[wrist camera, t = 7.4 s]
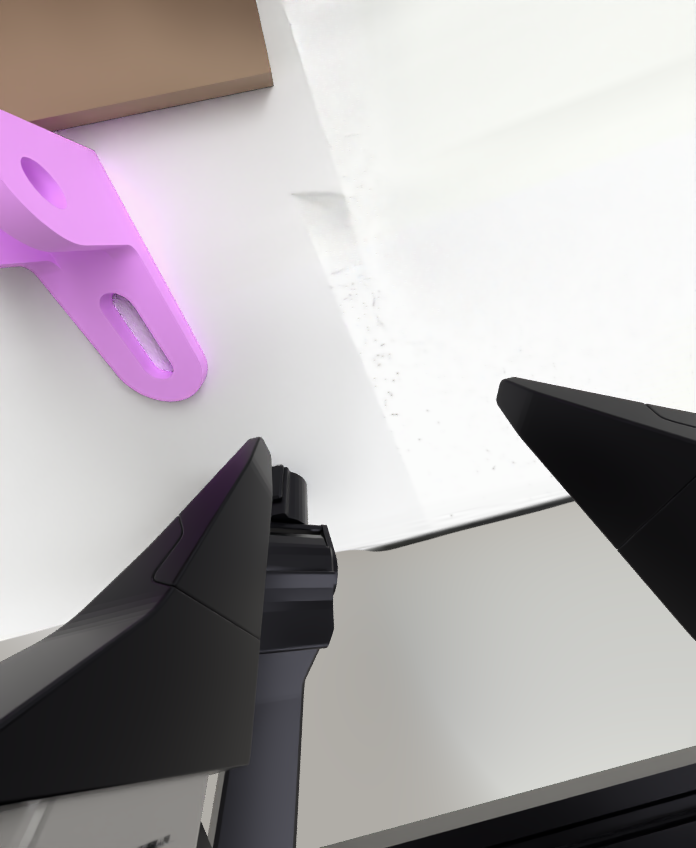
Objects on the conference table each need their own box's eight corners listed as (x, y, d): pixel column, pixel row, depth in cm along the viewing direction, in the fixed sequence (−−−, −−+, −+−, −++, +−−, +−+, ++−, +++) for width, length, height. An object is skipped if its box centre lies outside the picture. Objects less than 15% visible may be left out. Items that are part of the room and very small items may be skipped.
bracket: (-20, 173, 12) (-296, 114, 6) (96, 151, 12) (-75, 76, 7) (152, 399, 20) (96, 459, 14) (221, 384, 20) (191, 438, 14)
